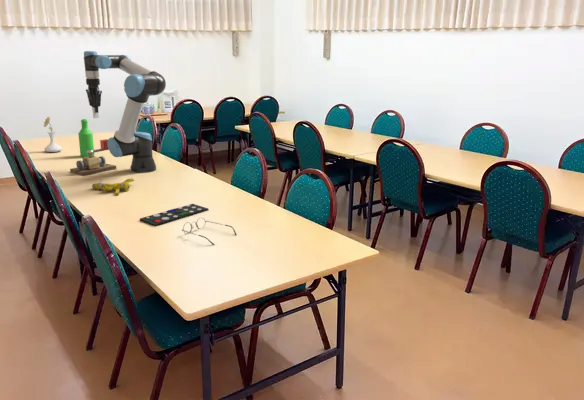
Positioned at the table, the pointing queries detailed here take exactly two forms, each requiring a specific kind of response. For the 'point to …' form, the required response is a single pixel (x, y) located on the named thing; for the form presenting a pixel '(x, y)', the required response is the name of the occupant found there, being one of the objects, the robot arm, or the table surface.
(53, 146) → the flower in vase
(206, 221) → the eyeglasses
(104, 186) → the yellow toy lizard
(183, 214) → the remote control
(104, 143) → the lever
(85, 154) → the bottle
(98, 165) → the valve board
